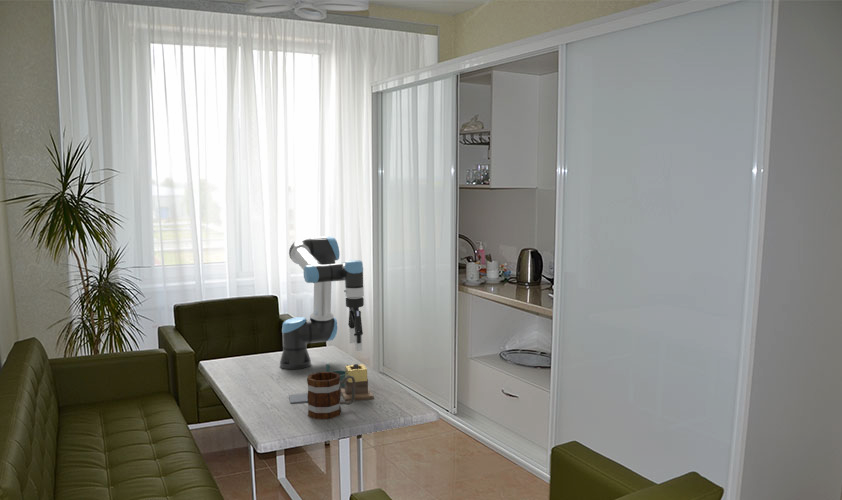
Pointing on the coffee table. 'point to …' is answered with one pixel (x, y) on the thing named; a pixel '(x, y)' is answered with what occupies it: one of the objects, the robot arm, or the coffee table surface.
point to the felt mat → (298, 398)
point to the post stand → (357, 390)
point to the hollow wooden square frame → (356, 373)
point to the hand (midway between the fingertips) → (355, 346)
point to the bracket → (342, 373)
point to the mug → (326, 394)
